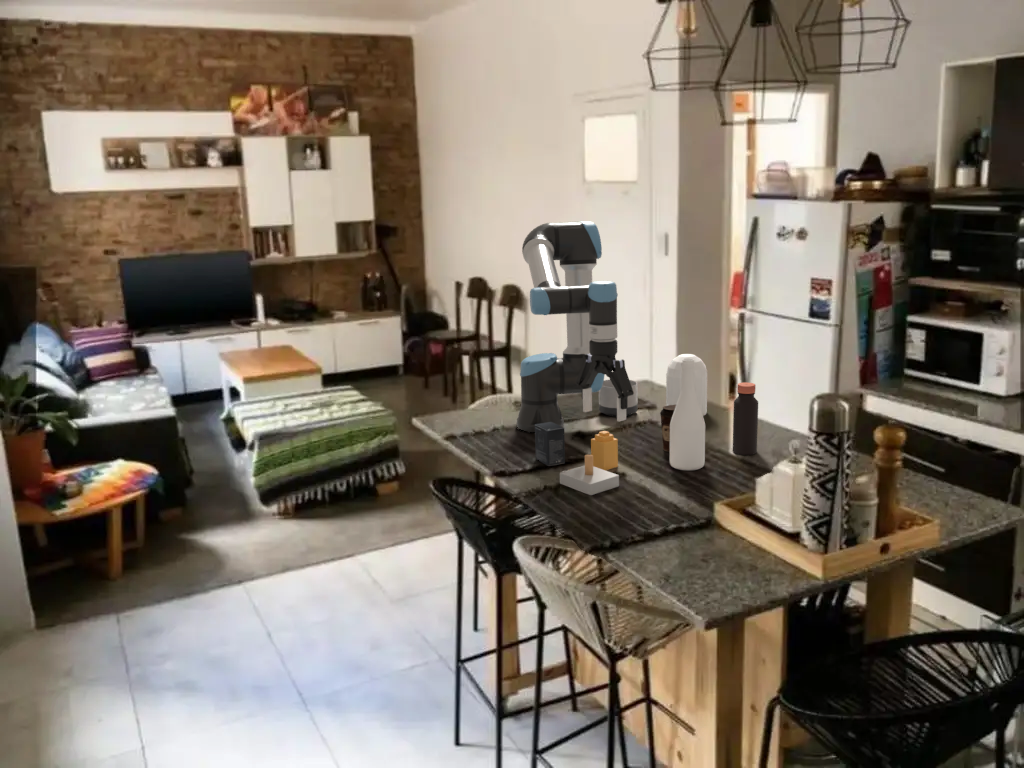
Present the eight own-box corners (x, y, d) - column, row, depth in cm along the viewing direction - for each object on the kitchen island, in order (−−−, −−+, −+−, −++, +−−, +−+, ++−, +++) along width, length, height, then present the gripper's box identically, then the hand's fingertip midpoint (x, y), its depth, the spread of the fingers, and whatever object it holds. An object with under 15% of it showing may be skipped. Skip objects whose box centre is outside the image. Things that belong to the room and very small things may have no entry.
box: (565, 463, 255) (564, 427, 253) (547, 466, 253) (547, 430, 250) (552, 456, 262) (551, 420, 260) (535, 459, 260) (534, 423, 257)
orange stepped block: (591, 466, 252) (590, 432, 249) (605, 462, 255) (604, 428, 252) (604, 470, 248) (603, 436, 245) (617, 466, 251) (617, 432, 248)
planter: (639, 418, 298) (639, 387, 295) (600, 419, 298) (600, 388, 295) (635, 408, 310) (635, 378, 308) (597, 409, 310) (597, 379, 308)
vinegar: (758, 449, 261) (760, 382, 256) (754, 456, 255) (756, 388, 250) (735, 447, 264) (736, 380, 259) (730, 454, 258) (731, 386, 253)
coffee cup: (688, 455, 259) (689, 411, 255) (659, 454, 260) (659, 410, 257) (689, 445, 267) (689, 403, 264) (660, 445, 268) (660, 402, 265)
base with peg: (552, 480, 241) (551, 452, 240) (580, 472, 247) (580, 444, 245) (590, 495, 230) (590, 465, 228) (619, 486, 236) (618, 456, 234)
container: (665, 407, 310) (665, 350, 305) (705, 407, 308) (706, 349, 303) (666, 417, 297) (667, 358, 292) (708, 418, 295) (709, 358, 290)
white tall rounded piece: (684, 473, 243) (685, 365, 236) (662, 464, 252) (663, 358, 244) (711, 467, 248) (713, 360, 240) (689, 458, 256) (691, 354, 249)
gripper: (562, 335, 250) (564, 410, 255) (626, 347, 231) (626, 427, 236) (582, 332, 255) (583, 405, 259) (646, 343, 235) (646, 421, 240)
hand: (604, 415), depth 247 cm, fingers open, 13 cm apart
